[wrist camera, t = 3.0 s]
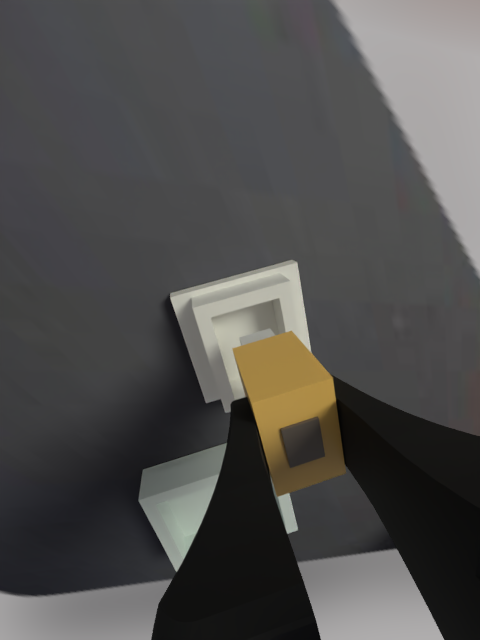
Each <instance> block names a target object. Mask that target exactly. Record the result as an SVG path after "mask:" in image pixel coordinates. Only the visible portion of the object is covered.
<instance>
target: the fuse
mask: <svg viewBox="0 0 480 640" xmlns="http://www.w3.org/2000/svg"><path fill="white" fill-rule="evenodd" d="M239 339H240V343H241V346H239V347H236V348H232V350H233V354H234V357H235V361H236V364H237V368H238V372H239V375H240V379H241V382H242V386H243V389H244V393H245V397H247V398H248V401H249V403H250V406H251V409H252V412H253V414H254V418H255V422H256V425H257V429H258V433H259V436H260V440H261V444H262V447H263V451H264V455H265V458H266V462H267V466H268V469H269V474H270V477H271V480H272V483H273V486H274V489H275V492H276V495H277V497H279V496H282V495H284V494H287V493H290V492H293V491H296V490H299V489H302V488H305V487H308V486H311V485H314V484H316V483H319V482H322V481H325V480H328V479H331V478H334V477H337V476H340V475H343V474H345V473H346V470H345V462H344V455H343V448H342V441H341V433H340V426H339V419H338V411H337V404H336V397H335V390H334V382H333V377H332V376H331V375H330V374H329V373H328V372H327V370H326V369H325V368H324V367H323V366H322V365H321V364H320V362H319V361H318V360H317V359H316V358H315V357H314V356H313V354H312V353H311V352H310V351H309V350H308V349H307V348H306V346H305V345H304V344H303V343H302V342H301V341H300V340H299V338H298V337H297V336H296V335H295V334H294V333H293V332H292V331H289V332H285V333H282V334H279V335H275V334H274V333H273V331H272V330H271V329H270V328H269V329H266V330H263V331H259V332H256V333H253V334H249V335H246V336H243V337H239Z"/></svg>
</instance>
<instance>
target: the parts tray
mask: <svg viewBox="0 0 480 640" xmlns="http://www.w3.org/2000/svg"><path fill="white" fill-rule="evenodd" d="M226 445H227V443H225V444H222V445H218V446H215V447H212V448H209V449H206V450H203V451H200V452H196V453H193V454H190V455H187V456H184V457H181V458H178V459H175V460H171V461H168V462H165V463H162V464H159V465H156V466H153V467H149V468H146V469H143V472H142V479H141V486H140V493H139V500H138V501H139V503H140V504H141V506H142V508H143V510H144V512H145V514H146V516H147V517H148V519H149V521H150V523H151V525H152V527H153V529H154V531H155V532H156V534H157V536H158V538H159V540H160V542H161V544H162V546H163V547H164V549H165V551H166V553H167V555H168V557H169V559H170V561H171V562H172V564H173V566H174V568H175V570H176V572H177V571H178V569H179V567H180V566H181V564H182V562H183V560H184V558H185V556H186V554H187V552H188V550H189V548H190V546H191V544H192V542H193V539H194V537H195V535H196V533H197V531H198V529H199V527H200V525H201V522H202V520H203V518H204V515H205V513H206V510H207V508H208V505H209V503H210V500H211V497H212V495H213V492H214V489H215V486H216V483H217V480H218V477H219V473H220V470H221V466H222V462H223V458H224V454H225V450H226ZM270 478H271V477H270ZM271 483H272V480H271ZM272 487H273V492H274V496H275V499H276V502H277V505H278V508H279V511H280V514H281V517H282V520H283V523H284V526H285V529H286V532H287V534H288V533H291V532H294V531H297V530H298V528H297V524H296V519H295V515H294V511H293V507H292V503H291V499H290V494H289V493H287V494H284V495H282V496H279V497H277V495H276V492H275V489H274V486H273V483H272Z"/></svg>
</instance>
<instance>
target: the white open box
mask: <svg viewBox="0 0 480 640" xmlns="http://www.w3.org/2000/svg"><path fill="white" fill-rule="evenodd" d="M170 299H171V302H172V305H173V308H174V311H175V314H176V316H177V319H178V322H179V325H180V328H181V331H182V334H183V337H184V340H185V343H186V346H187V349H188V352H189V355H190V358H191V361H192V364H193V366H194V369H195V372H196V375H197V378H198V381H199V384H200V387H201V390H202V393H203V396H204V399H205V402H206V403H209V402H212V401H216V400H219V399H221V401H222V404H223V407H224V410H225V413H228V412H231V407H230V404H231V403H232V401H234V400H238V399H241V398H244V397H245V393H244V389H243V386H242V382H241V379H240V375H239V372H238V368H237V364H236V361H235V357H234V354H233V350H232V348H236V347H239V346H241V343H240V339H239V337H243V336H246V335H249V334H253V333H256V332H259V331H263V330H266V329H269V328H270V329H271V330H272V331H273V333H274V334H275V335H279V334H282V333H285V332H289V331H292V332H293V333H294V334H295V335H296V336H297V337H298V338H299V340H300V341H301V342H302V343H303V344H304V345H305V346H306V348H307V349H308V350H309V351H310V352H311V348H310V342H309V335H308V329H307V322H306V316H305V310H304V303H303V297H302V290H301V284H300V278H299V271H298V265H297V262H295V261H294V260H290V261H286V262H282V263H279V264H275V265H271V266H268V267H264V268H260V269H257V270H253V271H249V272H246V273H242V274H239V275H235V276H231V277H228V278H224V279H220V280H217V281H213V282H209V283H206V284H202V285H198V286H195V287H191V288H188V289H184V290H180V291H177V292H173V293H170Z"/></svg>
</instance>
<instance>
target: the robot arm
mask: <svg viewBox="0 0 480 640" xmlns="http://www.w3.org/2000/svg"><path fill="white" fill-rule="evenodd" d="M330 375H331V374H330ZM331 376H332V377H333V382H334V390H335V397H336V404H337V411H338V419H339V426H340V433H341V441H342V448H343V455H344V462H345V465H346V466H347V467H348V469H349V470H350V472H351V473H352V475H353V476H354V478H355V479H356V481H357V482H358V484H359V485H360V487H361V488H362V489H363V491H364V492H365V494H366V495H367V497H368V499H369V500H370V502H371V503H372V505H373V506H374V508H375V510H376V512H377V513H378V515H379V517H380V519H381V521H382V522H383V524H384V526H385V528H386V529H387V531H388V533H389V535H390V537H391V538H392V540H393V542H394V544H395V546H396V548H397V550H398V551H399V553H400V555H401V557H402V559H403V561H404V562H405V564H406V566H407V568H408V570H409V572H410V574H411V576H412V578H413V579H414V581H415V583H416V585H417V587H418V589H419V591H420V593H421V595H422V596H423V599H424V600H425V602H426V604H427V606H428V608H429V610H430V612H431V614H432V616H433V618H434V620H435V622H436V624H437V626H438V628H439V630H440V632H441V634H442V636H443V638H444V640H480V436H476V435H472V434H469V433H465V432H462V431H458V430H455V429H452V428H448V427H445V426H442V425H439V424H436V423H433V422H430V421H428V420H425V419H422V418H419V417H417V416H414V415H411V414H409V413H406V412H404V411H402V410H399V409H397V408H395V407H393V406H390V405H388V404H386V403H384V402H382V401H379V400H377V399H375V398H373V397H371V396H369V395H367V394H365V393H364V392H362V391H360V390H358V389H356V388H354V387H352V386H350V385H349V384H347V383H345V382H343V381H341V380H340V379H338V378H336V377H334V376H333V375H331ZM230 407H231V417H230V427H229V434H228V440H227V445H226V450H225V454H224V458H223V462H222V466H221V470H220V473H219V477H218V480H217V483H216V486H215V489H214V492H213V495H212V497H211V500H210V503H209V505H208V508H207V510H206V513H205V515H204V518H203V520H202V522H201V525H200V527H199V529H198V531H197V533H196V535H195V537H194V539H193V542H192V544H191V546H190V548H189V550H188V552H187V554H186V556H185V558H184V560H183V562H182V564H181V566H180V567H179V569H178V571H177V573H176V574H175V576H174V578H173V580H172V581H171V583H170V585H169V587H168V588H167V590H166V592H165V594H164V596H163V597H162V599H161V601H160V602H159V605H158V609H157V614H156V618H155V623H154V628H153V633H152V639H151V640H321V639H320V635H319V631H318V627H317V623H316V619H315V616H314V613H313V609H312V606H311V603H310V600H309V597H308V594H307V591H306V588H305V585H304V582H303V579H302V576H301V573H300V570H299V567H298V564H297V561H296V558H295V555H294V552H293V549H292V546H291V544H290V541H289V538H288V535H287V532H286V529H285V526H284V523H283V520H282V517H281V514H280V511H279V508H278V505H277V502H276V499H275V496H274V492H273V487H272V483H271V478H270V474H269V469H268V466H267V462H266V458H265V455H264V451H263V447H262V444H261V440H260V436H259V433H258V429H257V425H256V422H255V418H254V414H253V412H252V409H251V406H250V403H249V401H248V398H247V397H244V398H241V399H238V400H234V401H232V403H231V404H230Z"/></svg>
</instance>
